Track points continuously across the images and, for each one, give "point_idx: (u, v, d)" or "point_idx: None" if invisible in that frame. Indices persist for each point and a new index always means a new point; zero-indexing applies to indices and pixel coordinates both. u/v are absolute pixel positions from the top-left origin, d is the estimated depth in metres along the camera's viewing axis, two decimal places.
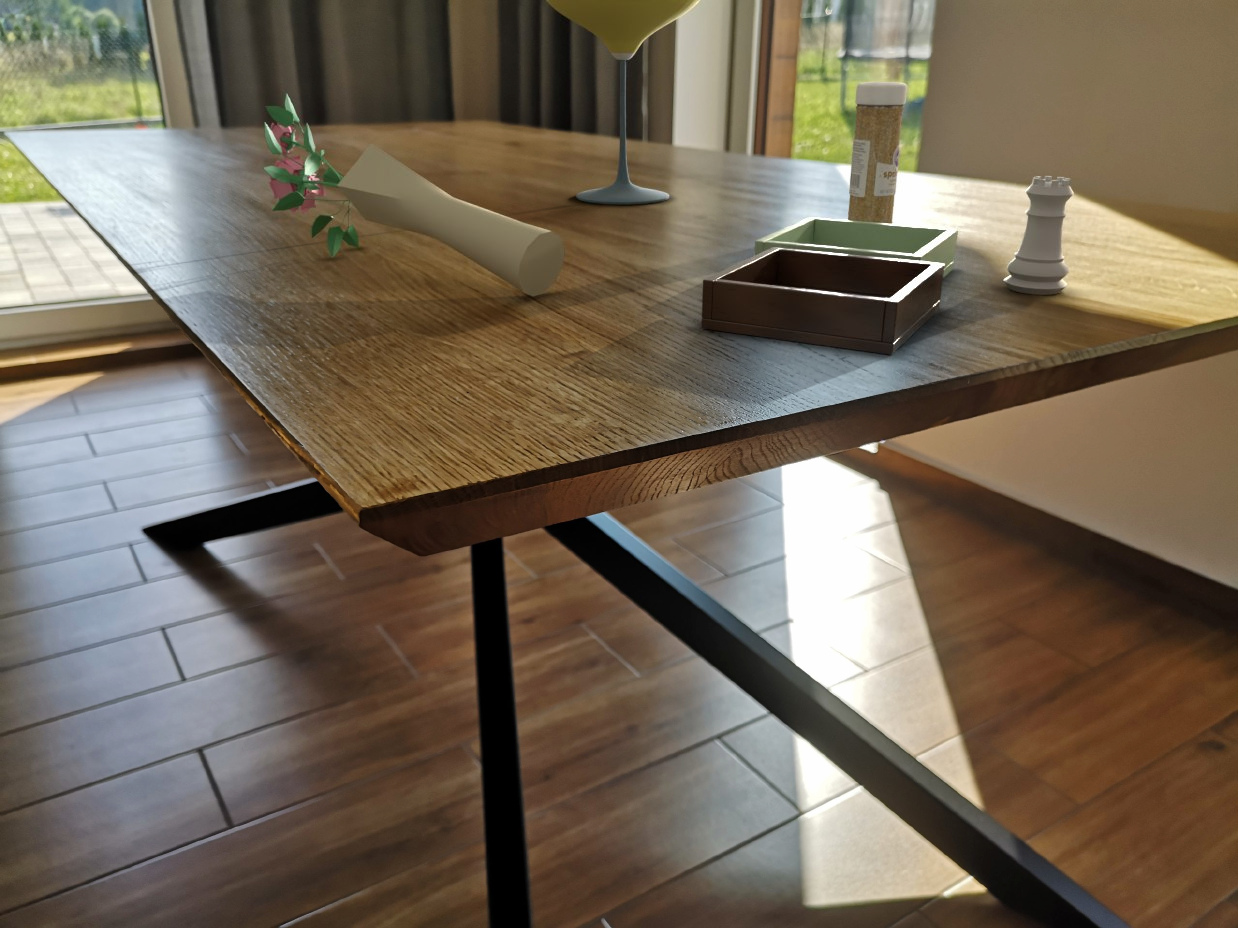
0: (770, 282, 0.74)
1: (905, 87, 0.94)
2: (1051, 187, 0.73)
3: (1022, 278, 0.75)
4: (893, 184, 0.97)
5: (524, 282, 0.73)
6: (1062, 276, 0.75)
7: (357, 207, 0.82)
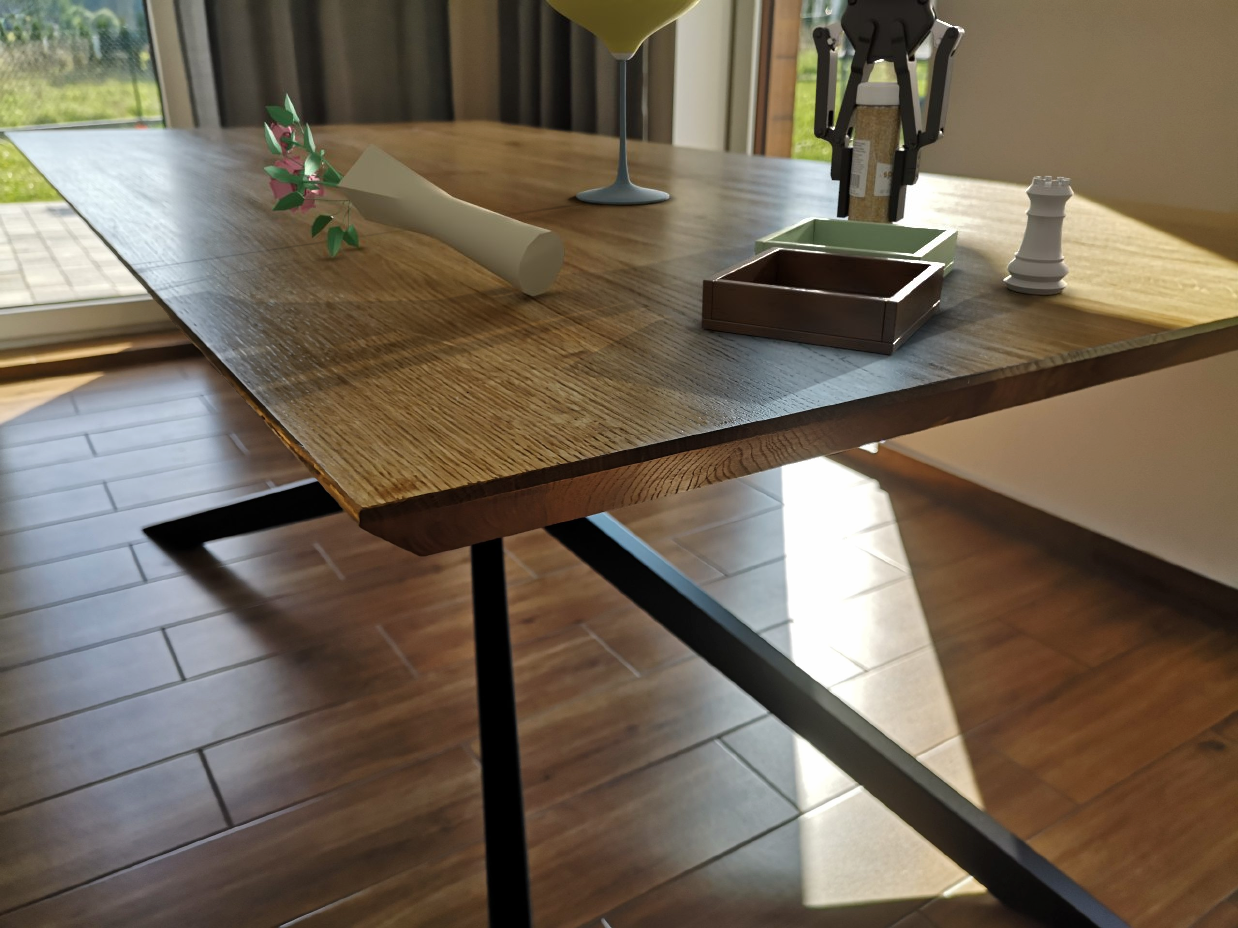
0: (770, 282, 0.74)
1: None
2: (1051, 187, 0.73)
3: (1022, 278, 0.75)
4: None
5: (524, 282, 0.73)
6: (1062, 276, 0.75)
7: (357, 207, 0.82)
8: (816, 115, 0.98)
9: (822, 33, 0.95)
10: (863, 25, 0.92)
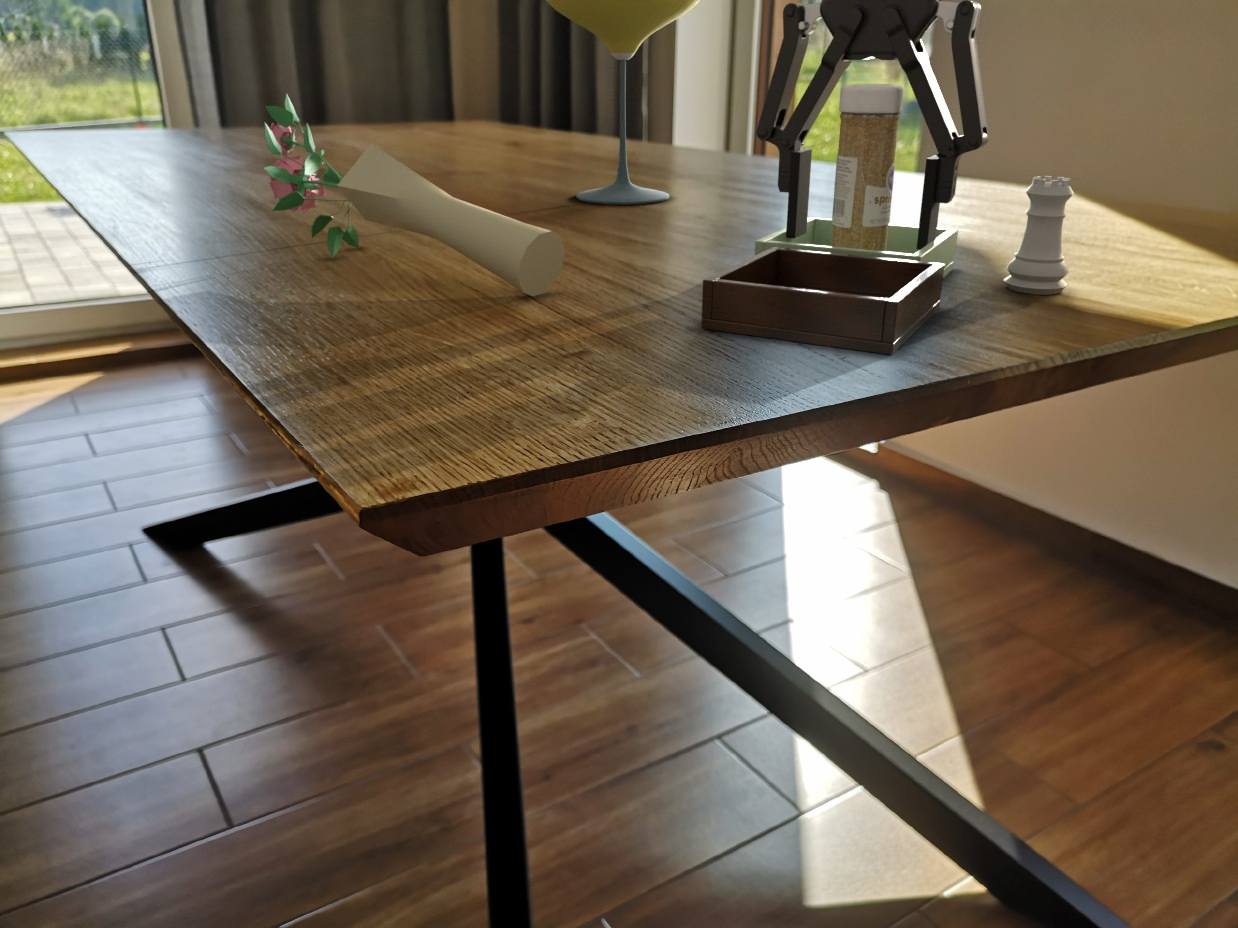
0: (770, 282, 0.74)
1: (901, 90, 0.74)
2: (1051, 187, 0.73)
3: (1022, 278, 0.75)
4: (886, 212, 0.77)
5: (524, 282, 0.73)
6: (1062, 276, 0.75)
7: (357, 207, 0.82)
8: (764, 111, 0.79)
9: (795, 12, 0.75)
10: (849, 11, 0.73)
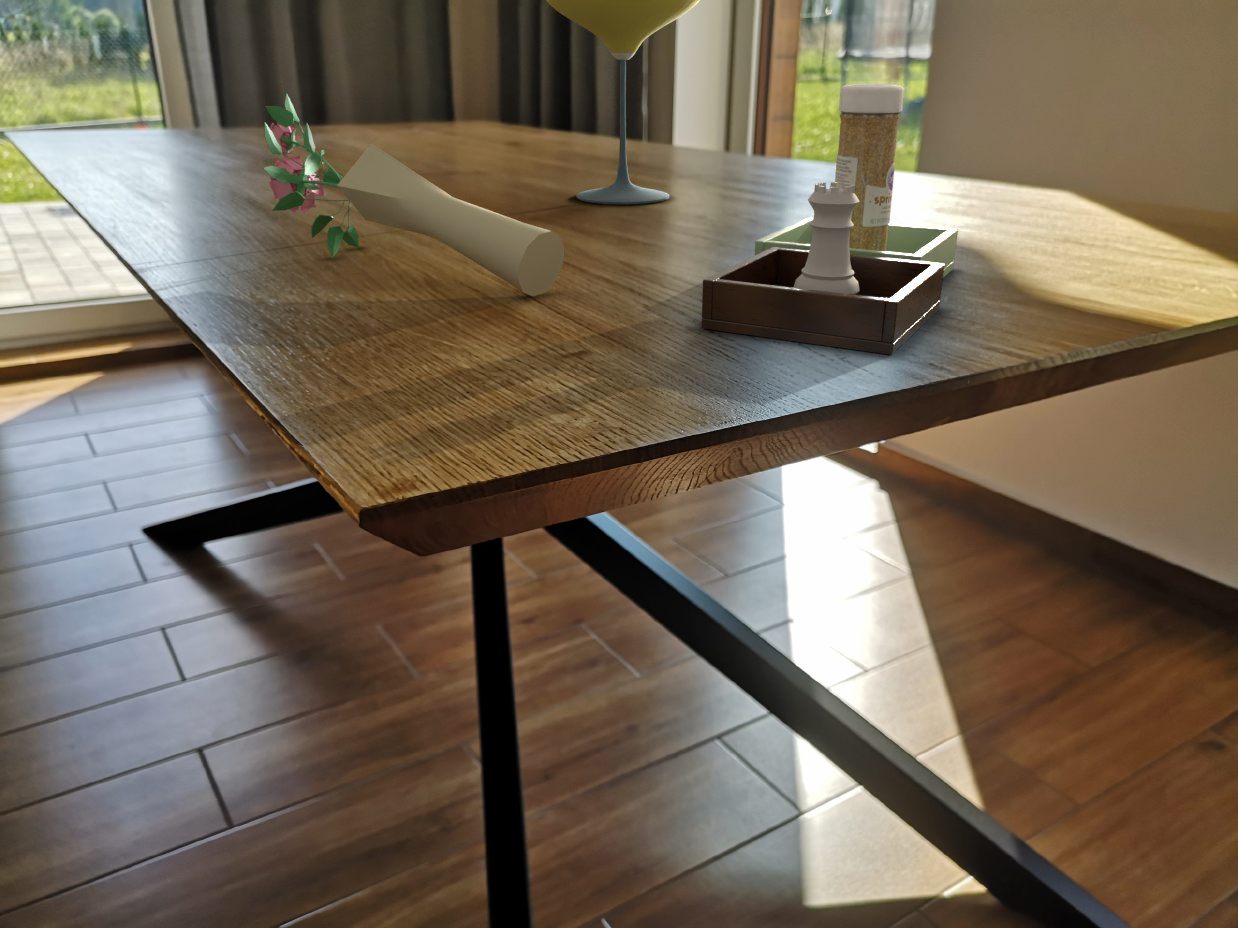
0: (770, 282, 0.74)
1: (901, 90, 0.74)
2: (814, 191, 0.66)
3: None
4: (886, 212, 0.78)
5: (524, 282, 0.73)
6: None
7: (357, 207, 0.82)
8: None
9: None
10: None
